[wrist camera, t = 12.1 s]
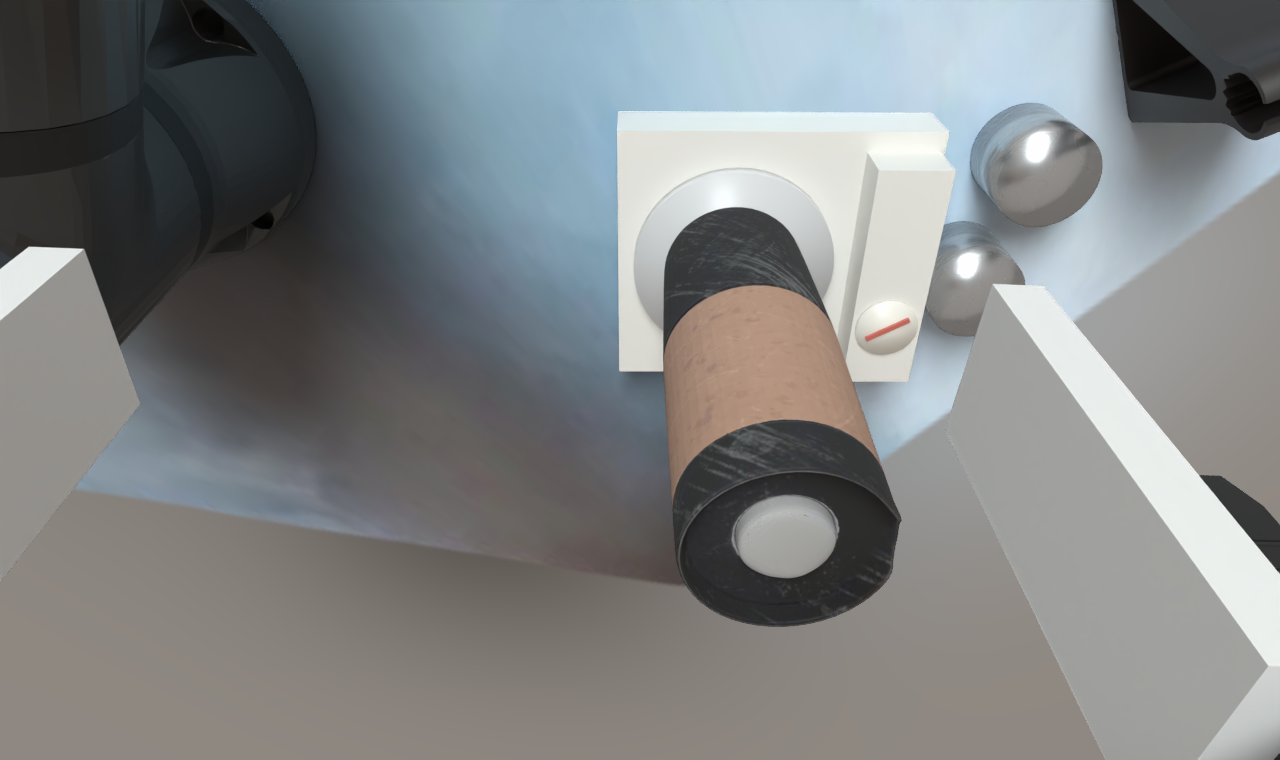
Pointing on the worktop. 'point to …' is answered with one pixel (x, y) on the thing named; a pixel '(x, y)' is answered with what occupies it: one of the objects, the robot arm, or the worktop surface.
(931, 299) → the cylinder
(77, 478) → the robot arm
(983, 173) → the cylinder
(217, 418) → the worktop surface
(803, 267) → the travel mug
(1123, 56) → the phone stand
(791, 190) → the scale
